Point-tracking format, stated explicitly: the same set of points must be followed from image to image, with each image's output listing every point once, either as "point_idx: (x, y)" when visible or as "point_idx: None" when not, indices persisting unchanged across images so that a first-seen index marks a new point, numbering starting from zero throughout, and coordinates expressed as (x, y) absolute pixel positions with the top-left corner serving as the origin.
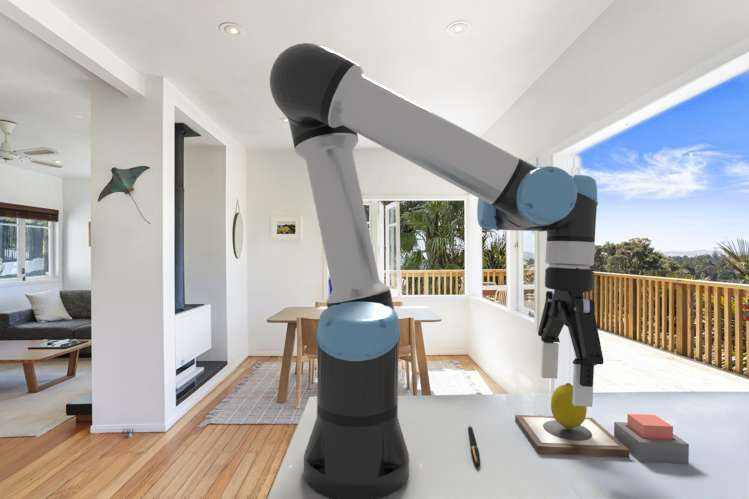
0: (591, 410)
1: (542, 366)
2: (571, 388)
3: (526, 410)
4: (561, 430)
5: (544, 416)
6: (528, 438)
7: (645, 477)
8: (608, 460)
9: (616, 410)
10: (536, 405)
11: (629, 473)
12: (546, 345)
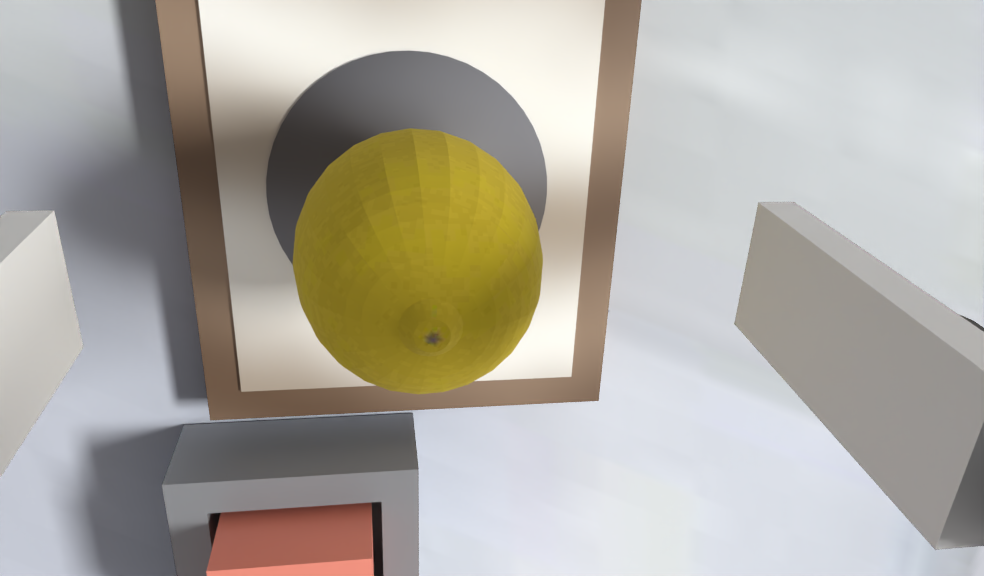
0: (763, 446)
1: (825, 242)
2: (377, 328)
3: (802, 74)
4: None
5: (620, 132)
6: None
7: None
8: (165, 292)
9: (751, 554)
10: (869, 171)
11: None
12: (964, 397)
